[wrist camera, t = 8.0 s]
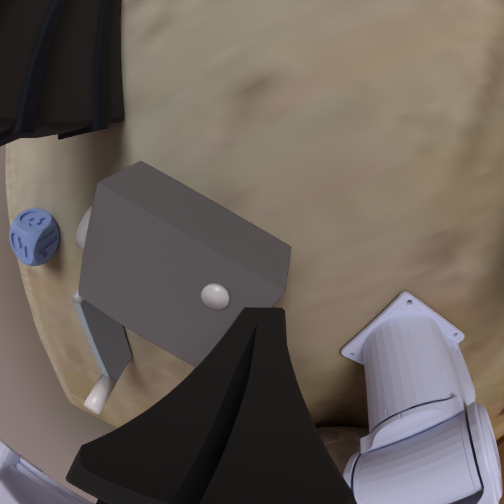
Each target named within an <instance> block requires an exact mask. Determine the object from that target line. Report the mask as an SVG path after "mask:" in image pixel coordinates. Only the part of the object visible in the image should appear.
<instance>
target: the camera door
mask: <svg viewBox="0 0 504 504" xmlns="http://www.w3.org/2000/svg"><path fill="white" fill-rule="evenodd" d="M78 292H79V289H78V290H77V291H76V292H75V293H74V294H73V295H72V300H73V301H74V305H75V308H76V311H77V314H78V316H79V319H80V322H81V324H82V327H83V330H84V332H85V335H86V337H87V340H88V342H89V345H90V347H91V349H92V352H93V354H94V356H95V358H96V361H97V363H98V365H99V367H100V369H101V372H102V374H103V375H101V377H100V378H99V380H98V381H97V383H96V385H95V386H94V388H93V389H92V391H91V393H90V394H89V396H88V398H87V399H86V401H85V403H84V406H85V407H86V408H87V409H88V410H89V411H91V412H92V413H94V414H97V415H99V413H100V412H101V410H102V408H103V406H104V404H105V403H106V401H107V399H108V397H109V396H110V394H111V392H112V390H113V389H114V387H115V385H116V382H117V381H118V379H119V377H120V376H121V374H122V372H123V370H124V369H125V367H126V365H127V364H128V362H129V360H130V359H131V357H132V355H131V352H130V349H129V346H128V342H127V339H126V336H125V332H124V329H123V325H122V324H120V323H118V322H117V321H115V320H114V319H112V318H111V317H109V316H108V315H106V314H105V313H103V312H102V311H100V310H99V309H97V308H96V307H94V306H93V305H91V304H90V303H89V302H87V301H86V300H84V299H83V298H81V297H80V296H79V295H78Z"/></svg>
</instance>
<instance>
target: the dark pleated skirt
mask: <svg viewBox="0 0 504 504" xmlns="http://www.w3.org/2000/svg"><path fill="white" fill-rule="evenodd" d="M120 13H121V0H0V146H2V145H5V144H7V143H9V142H12V141H14V140H16V139H19V138H39V137H44V136H50V135H56V134H58V139H59V140H60V139H64V138H68V137H72V136H76V135H80V134H84V133H89V132H93V131H98V130H102V129H107V128H108V124H111V123H116V122H120V121H122V120H123V119H124V110H123V97H122V81H121V58H120Z"/></svg>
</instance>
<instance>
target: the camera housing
mask: <svg viewBox="0 0 504 504" xmlns="http://www.w3.org/2000/svg"><path fill="white" fill-rule="evenodd" d="M76 244H77V246H79V247H80V248H82V249H83V250H84V252H83V259H82V266H81V274H80V283H79V292H78V295H79V296H80V297H81V298H83V299H84V300H86V301H87V302H89V303H90V304H91V305H93V306H94V307H96V308H97V309H99V310H100V311H102V312H103V313H105V314H106V315H108V316H109V317H111V318H112V319H114V320H115V321H117V322H118V323H120V324H122V325H123V326H125V327H126V328H128V329H130V330H131V331H133V332H134V333H136V334H138V335H139V336H141V337H143V338H144V339H146V340H148V341H150V342H151V343H153V344H155V345H156V346H158V347H160V348H162V349H164V350H165V351H167V352H169V353H171V354H173V355H174V356H176V357H178V358H180V359H182V360H184V361H186V362H187V363H189V364H191V365H193V366H195V367H197V366H198V365H199V364H200V363H201V362H202V361H203V360H204V358H205V357H206V356H207V355H208V354H209V353H210V352H211V350H212V349H213V348H214V347H215V346H216V344H217V343H218V342H219V341H220V339H221V338H222V337H223V336H224V334H225V333H226V332H227V330H228V329H229V328H230V326H231V325H232V324H233V322H234V321H235V319H236V318H237V317H238V315H239V314H240V312H241V311H242V309H244V308H245V307H260V308H271V307H272V306H273V305H274V304H275V303H276V301H277V300H278V299H279V298H280V297H281V295H282V294H283V293H284V292H285V288H286V281H287V274H288V267H289V260H290V252H291V246H289V245H287V244H286V243H284V242H282V241H281V240H279V239H277V238H276V237H274V236H272V235H270V234H269V233H267V232H265V231H264V230H262V229H260V228H259V227H257V226H255V225H253V224H252V223H250V222H248V221H247V220H245V219H243V218H241V217H240V216H238V215H236V214H235V213H233V212H231V211H229V210H228V209H226V208H224V207H222V206H221V205H219V204H217V203H215V202H214V201H212V200H210V199H208V198H207V197H205V196H203V195H201V194H200V193H198V192H196V191H194V190H193V189H191V188H189V187H187V186H185V185H184V184H182V183H180V182H178V181H176V180H175V179H173V178H171V177H169V176H168V175H166V174H164V173H162V172H160V171H159V170H157V169H155V168H153V167H151V166H149V165H148V164H146V163H144V162H142V161H140V162H138V163H136V164H133V165H131V166H129V167H127V168H125V169H123V170H121V171H119V172H117V173H115V174H113V175H111V176H109V177H107V178H105V179H103V180H101V181H99V182H98V183H97V187H96V191H95V196H94V200H93V204H92V205H91V206H90V208H89V209H88V210H87V211H86V213H85V214H84V216H83V218H82V219H81V221H80V224H79V226H78V229H77V233H76Z"/></svg>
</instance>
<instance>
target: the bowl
mask: <svg viewBox="0 0 504 504" xmlns="http://www.w3.org/2000/svg"><path fill="white" fill-rule="evenodd" d="M316 429H317V431H318V433H319V435H320V437H321V439H322V441H323V443H324V445H325V447H326V449H327V451H328V453H329V454H330V456H331V458H332V460H333V461H334V463H335V465H336V466H337V468H338V470H339V471H340V473H341V475H343V472H344V470H345V467H346V464H347V462H348V461H349V459H350V458H351V456H352V455H353V454H355V453H356V452H359V451H360V439H361V438H362V437H365V436H367V435H369V429H365V428H357V427H345V426H342V427H319V428H316Z"/></svg>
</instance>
